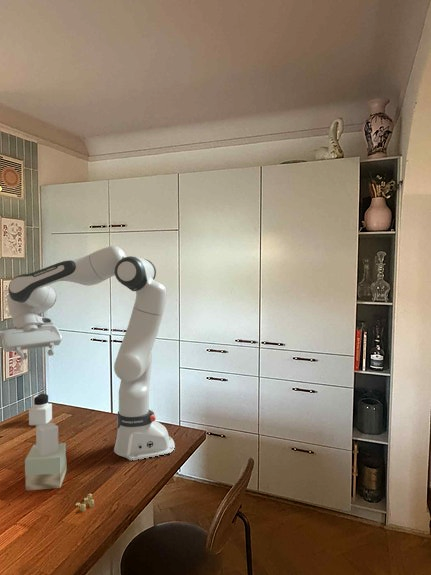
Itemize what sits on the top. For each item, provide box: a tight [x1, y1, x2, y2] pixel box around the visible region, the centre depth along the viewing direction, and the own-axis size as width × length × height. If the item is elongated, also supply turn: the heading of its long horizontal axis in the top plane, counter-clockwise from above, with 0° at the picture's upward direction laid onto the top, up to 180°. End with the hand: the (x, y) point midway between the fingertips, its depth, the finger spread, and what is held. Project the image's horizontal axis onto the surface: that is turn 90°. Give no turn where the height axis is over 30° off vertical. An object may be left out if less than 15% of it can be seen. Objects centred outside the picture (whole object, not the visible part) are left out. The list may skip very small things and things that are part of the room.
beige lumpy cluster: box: [75, 493, 95, 513], centre depth 113 cm, size 5×5×2 cm
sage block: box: [24, 442, 67, 477], centre depth 125 cm, size 10×10×5 cm
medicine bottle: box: [28, 393, 53, 426], centre depth 170 cm, size 7×7×12 cm
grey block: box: [35, 421, 59, 456], centre depth 124 cm, size 5×5×8 cm
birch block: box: [25, 457, 68, 491], centre depth 125 cm, size 10×10×5 cm
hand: (38, 356), depth 141 cm, fingers open, 8 cm apart
